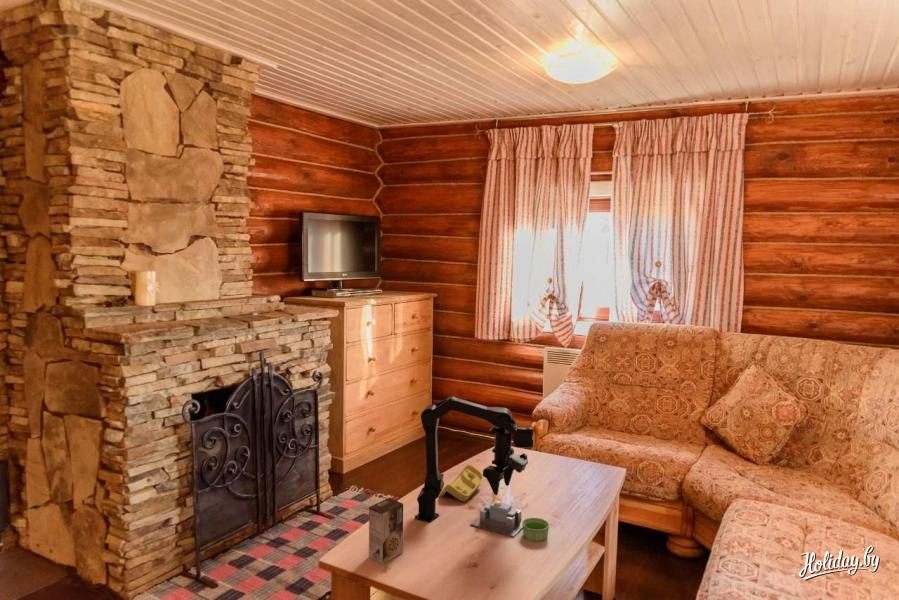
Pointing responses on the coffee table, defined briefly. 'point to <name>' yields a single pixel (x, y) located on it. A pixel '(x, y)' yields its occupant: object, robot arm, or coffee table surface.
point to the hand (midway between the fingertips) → (501, 490)
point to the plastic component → (464, 483)
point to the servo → (500, 511)
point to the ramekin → (535, 529)
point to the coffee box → (385, 530)
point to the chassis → (508, 529)
